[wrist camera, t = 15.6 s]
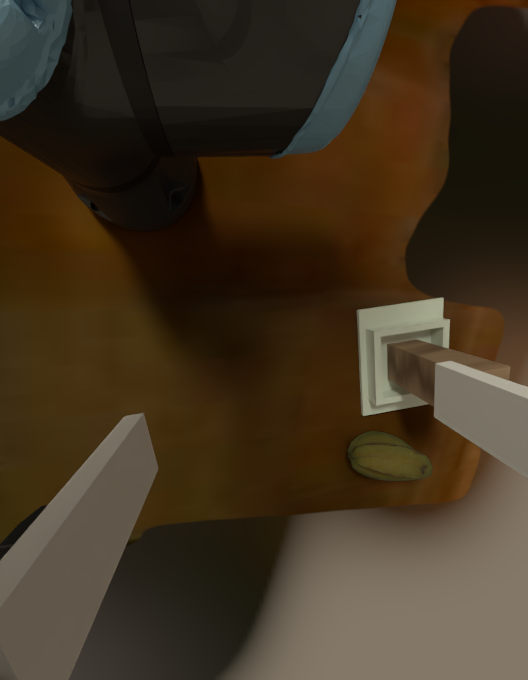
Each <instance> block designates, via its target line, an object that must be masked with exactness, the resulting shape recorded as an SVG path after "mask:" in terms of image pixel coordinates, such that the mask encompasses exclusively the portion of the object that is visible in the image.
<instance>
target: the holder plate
mask: <svg viewBox="0 0 528 680" xmlns="http://www.w3.org/2000/svg"><path fill="white" fill-rule="evenodd" d="M443 299H444V298H435V299H428V300H421V301H414V302H408V303H401V304H394V305H387V306H380V307H374V308H367V309H360V310H357V328H358V350H359V371H360V393H361V414H362V415H363V416H367V415H372V414H378V413H383V412H389V411H394V410H399V409H405V408H410V407H416V406H421V405H427V404H428V403H427V402H425V401H423V400H422V399H420V398H418V397H417V396H415V395H413V394H412V393H410V392H408V391H407V390H405V389H403V388H402V387H400V386H398V385H397V384H395V383H393V382H392V381H390V380H389V379H388V370H387V344H390V343H396V342H402V341H409V340H415V339H417V340H421V341H424V342H427V343H431V344H434V345H438V346H441V347H445V348H448V349H449V328H450V319H443Z"/></svg>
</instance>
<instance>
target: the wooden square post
mask: <svg viewBox="0 0 528 680" xmlns="http://www.w3.org/2000/svg"><path fill="white" fill-rule="evenodd" d="M446 361H453V362H456V363H459V364H462V365H465V366H467V367H470V368H473V369H476V370H479V371H482V372H485V373H488V374H491V375H494V376H497V377H500V378H502V379H505V380H508V381H509V376H510V366H507V365H504V364H500V363H496V362H493V361H490V360H486V359H483V358H479V357H476V356H472V355H469V354H466V353H462V352H459V351H455V350H452V349H448V348H445V347H441V346H438V345H434V344H431V343H427V342H424V341H421V340H417V339H415V340H409V341H402V342H396V343H390V344H387V370H388V379H389V380H390V381H392V382H393V383H395V384H397V385H398V386H400V387H402V388H403V389H405V390H407V391H408V392H410V393H412V394H413V395H415V396H417V397H418V398H420V399H422V400H423V401H425V402H427V403H428V404H430V405H431V406H433V407H434V395H435V363H440V362H446Z"/></svg>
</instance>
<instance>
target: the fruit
mask: <svg viewBox="0 0 528 680" xmlns="http://www.w3.org/2000/svg"><path fill="white" fill-rule="evenodd" d="M347 458H348V459H349V460H350V461H351V465H352V467H353V469H354V470H356V471H357V472H359V473H360V474H362V475H364V476H366V477H369V478H372V479H377V480H385V481H410V480H416V479H424V478H427V477H428V476H430V475H431V474H432V468H433V467H432V464H431V461H430V460H429V458H428V457H427V456H426V455H424V454H423V453H421V452H419V451H417V450H414V449H413V448H412V447H411V446H409V445H408V444H407V443H405V442H404V441H403V440H401V439H400V438H398V437H396V436H393V435H391V434H388V433H385V432H378V431H369V432H365V433H363V434H361V435H359V436H358V437H356V438H355V439H354V440H353V441H352V442H351V443H350V445H349V448H348V455H347Z"/></svg>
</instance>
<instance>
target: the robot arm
mask: <svg viewBox="0 0 528 680" xmlns="http://www.w3.org/2000/svg"><path fill="white" fill-rule="evenodd" d="M395 4H396V0H0V136H2V137H3V138H5V139H6V140H8V141H10V142H11V143H13V144H14V145H16V146H17V147H19V148H21V149H22V150H24V151H25V152H27V153H29V154H30V155H32V156H33V157H35V158H37V159H38V160H40V161H41V162H43V163H44V164H46V165H47V166H49V167H51V168H52V169H54V170H55V171H57V172H58V173H60V174H62V175H63V176H64V178H65V179H66V180H67V182H68V183H69V185H70V186H71V188H72V189H73V191H74V192H75V194H76V195H77V196H78V197H79V198H80V200H81V201H82V202H83V203H84V204H85V205H86V206H87V207H88V208H89V209H91V210H92V211H93V212H94V213H96V214H97V215H98V216H100V217H102V218H103V219H105V220H107V221H109V222H111V223H113V224H115V225H117V226H119V227H122V228H124V229H128V230H132V231H140V232H147V231H155V230H159V229H162V228H164V227H167V226H169V225H171V224H172V223H174V222H175V221H176V220H178V219H179V218H180V217H181V216H182V215H183V214H184V213H185V211H186V210H187V209H188V207H189V205H190V204H191V202H192V200H193V197H194V194H195V191H196V187H197V179H198V169H197V161H196V157H243V156H269V157H270V158H272V159H275V158H281V157H283V156H285V155H288V154H300V153H312V152H316V151H319V150H321V149H323V148H324V147H325V146H327V145H328V144H329V143H330V142H331V141H332V139H334V138H336V137H337V136H338V135H339V133H340V132H341V131H342V129H343V128H344V127H345V125H346V124H347V123H348V121H349V119H350V118H351V116H352V114H353V113H354V111H355V109H356V107H357V106H358V104H359V102H360V100H361V98H362V96H363V94H364V91H365V89H366V87H367V85H368V82H369V80H370V78H371V75H372V73H373V70H374V68H375V65H376V63H377V60H378V58H379V55H380V52H381V49H382V46H383V44H384V41H385V38H386V35H387V32H388V29H389V25H390V22H391V19H392V15H393V12H394V8H395ZM434 417H435V418H436V419H438V420H439V421H441V422H442V423H444V424H445V425H447V426H448V427H450V428H451V429H453V430H454V431H456V432H457V433H459V434H461V435H462V436H464V437H465V438H467V439H468V440H470V441H471V442H473V443H474V444H476V445H477V446H479V447H480V448H482V449H483V450H485V451H487V452H488V453H489V454H491V455H493V456H494V457H496V458H497V459H499V460H500V461H502V462H503V463H505V464H506V465H508V466H509V467H511V468H512V469H514V470H515V471H517V472H519V473H520V474H522V475H523V476H525V477H526V478H528V387H526V386H523V385H520V384H517V383H514V382H511V381H508V380H505V379H502V378H500V377H497V376H494V375H491V374H488V373H485V372H482V371H479V370H476V369H473V368H470V367H467V366H465V365H462V364H459V363H456V362H453V361H446V362H440V363H435V395H434ZM157 471H158V466H157V462H156V458H155V455H154V451H153V447H152V443H151V439H150V436H149V432H148V428H147V424H146V421H145V417H144V413H141V414H135V415H129V416H124V418H123V419H122V420H121V421H120V422H119V423H118V424H117V426H116V427H115V428H114V429H113V430H112V431H111V433H110V434H109V435H108V436H107V437H106V438H105V440H104V441H103V442H102V443H101V444H100V445H99V447H98V448H97V449H96V450H95V451H94V452H93V453H92V455H91V456H90V457H89V458H88V459H87V460H86V462H85V463H84V464H83V465H82V466H81V467H80V469H79V470H78V471H77V472H76V473H75V474H74V475H73V477H72V478H71V479H70V480H69V481H68V482H67V484H66V485H65V486H64V487H63V488H62V489H61V491H60V492H59V493H58V494H57V495H56V496H55V498H54V499H53V500H52V501H51V502H50V503H49V504H48V505H45V506H41V507H40V508H39V509H37V510H36V511H35V512H34V513H32V514H31V515H30V516H29V517H27V518H26V519H25V520H24V521H22V522H21V523H20V524H18V526H17V527H16V528H15V529H14V530H13V531H12V532H11V533H10V534H9V535H8V536H7V538H6V539H5V540H4V541H3V542H2V543H1V544H0V680H69V677H70V675H71V672H72V670H73V668H74V665H75V663H76V661H77V658H78V656H79V654H80V651H81V649H82V646H83V644H84V642H85V639H86V637H87V635H88V633H89V630H90V628H91V626H92V623H93V621H94V618H95V616H96V614H97V611H98V609H99V607H100V604H101V602H102V600H103V597H104V595H105V593H106V591H107V588H108V586H109V583H110V581H111V579H112V576H113V574H114V572H115V569H116V567H117V565H118V562H119V560H120V558H121V555H122V553H123V551H124V548H125V546H126V544H127V541H128V539H129V537H130V534H131V532H132V530H133V527H134V525H135V523H136V520H137V518H138V516H139V513H140V511H141V509H142V506H143V504H144V501H145V499H146V497H147V494H148V492H149V490H150V487H151V485H152V483H153V480H154V478H155V476H156V473H157Z"/></svg>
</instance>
